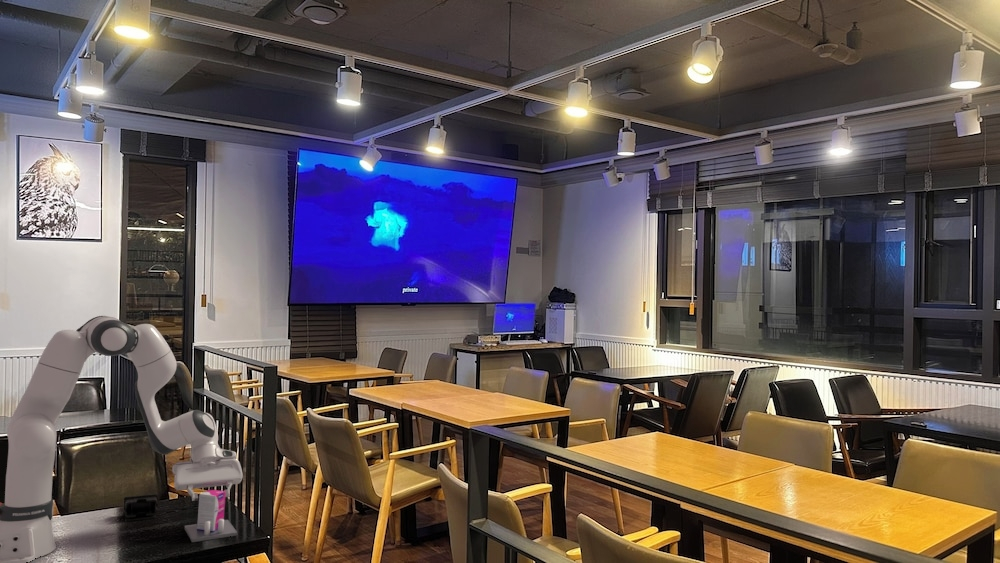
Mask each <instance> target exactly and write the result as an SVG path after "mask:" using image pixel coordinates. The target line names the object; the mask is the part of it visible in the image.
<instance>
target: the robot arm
mask: <svg viewBox="0 0 1000 563" xmlns="http://www.w3.org/2000/svg"><path fill="white" fill-rule="evenodd" d="M95 353H96V354H100V355H102V356H106V357H115V356H121V355H124V354H127V355H128V356H129V358H130V359H131V362H132V363H133V365H134V367H135V368H136V369H135V370H136V371H137V380H136V381H135V383H134V394H135V398H136V401H137V404H138V407H139V410H140V413H141V416H142V419H143V423H144V425H145V428H146V432H147V436H148V442H149V444H150V447H151V449H152V450H153V451H154V452H155V453H157V454H160V455H164V456H165V455H169V454H171V453H173V452H176V451H177V450H179V449H180V448H183V447H186V446H188V445H190V447H191V450H190V451H191V452H190V456H191V457H190V458H191V460H187V461H186V460H185V461H178V462H176V463H174V464H173V465H172V467H171V469H172V474H173V475H174V481H173V485H174V486H173V487H174V489H175V490H176V491H186V490H187V494H188V495H189V496H190V497H191V501H192V502H193V501H194V502H195V501H199V496H198V495H199V494H198V492H195V491H194V490H195V489H203V488H212V487H222V486H225V487H226V488H227V489H224V490H223V491H225V492H226V494H225V498H228V497H230V495H231V494H230V492H231V488H232V486H233V485H239V484H241V482H242V480H243V477H244V475H243V474H244V473H243V469H242V466H241V462H240V461H239V460H238V459H237V453H236V451H234V450H228V449H223V448H221V447H220V445H219V434H218V428H217V425H216V422H215V418H214V417H213V415H212V414H210V413H208V412H204V411H202V410H199V409H195V410H191V411H188V412H186V413H183V414H180V415H179V416H176V417H174V418H171V419H168V420H166V421H165V420H162V418H161V415H160V413H159V409H158V406H157V404H156V403H157V402H156V400H155V396H156V393H158V391H160V390H161V389H162V388H163V387H164V386H166V384H168V382H170V380H172V379H173V377H174V375H175V373H176V371H177V367H178V365H177V364H178V363H177V360H176V357H175V355H174V353H173V351H172V349H171V348H170V345H169V344H168V343H167V341H166V340H165V337H164V336H163V335H162V333H161V332H160V330H158V329H157V328H156V326H155V325H153V324H150V323H140V324H137V325H135V326H133V327H132V326H130V325H128V324H127V323H125V322H123V321H121V320H120V319H118V318H116V317H114V316H113V317H112V316H107V315H99V316H98V315H97V316H96V317H93V318H91V319H89V320H88V321H86V322H85V323H84V324H82V326H79V328H77V329H76V330H74V329H62V330H59V331H57V332H55V334H54V335H53V336H52V337H51V338H50V340H49V341H48V343H47V345H46V346H45V348H44V350H43V351H42V354H41V355H40V358H39V359H38V362H37V365H36V367H35V368H34V370H33V373H32V376H31V378H30V380H29V382H28V385H27V387H26V388H25V389H26V390H25V391H24V393H23V395H22V396H21V398H20V401H19V402H18V405H17V406H16V408H15V410H14V412H13V414H12V416H11V417H10V418H11V419H9V420H10V421H9V423H8V424H7V427H6V435H7V439H8V452H7V463H6V464H7V465H6V466H7V467H6V474H5V489H4V490H5V491H4V494H5V495H4V503H2V502H0V563H26V562H28V563H30V561H31V562H33V561H34V560H36V559H38V558H41V557H43V556H46V555H49V554H51V553H52V552H53V551H55V550H56V548H57V545H56V542H55V539H54V538H55V537H54V533H53V524H52V523H53V522H52V520H53V517H54V504H55V503H54V500H53V498H52V497H53V496H52V494H53V474H54V472H53V471H54V465H55V459H56V450H57V449H56V448H57V437H58V436H57V434H58V432H57V429H56V424H57V422H58V420H59V418H60V415H61V414H62V412H63V410H64V408H65V406H66V405H67V403H68V402H69V401H70V399H71V397H72V394H73V392H74V389H75V388H76V384H77V382H78V380H79V377H80V375H81V373H82V371H83V367H84V365H85V363H86V362H87V359H89V357H91V356H92V355H94V354H95ZM193 489H194V490H193ZM40 556H41V557H40ZM35 558H36V559H35ZM32 560H33V561H32Z"/></svg>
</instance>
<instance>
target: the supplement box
mask: <svg viewBox="0 0 1000 563" xmlns="http://www.w3.org/2000/svg"><path fill="white" fill-rule="evenodd" d="M225 494H226V492H225V491H224V490H216V489H208V490H205V491H203V492H201V493H199V494H198V495H199V496H198V510H197V512H198V513H197V523H196V524H197V531H203V532H204V527H205V521H210V532H211V533H213V532H215V531H216V530H218V521H219V519H224V520H225V506H226V497H225Z"/></svg>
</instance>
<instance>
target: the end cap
mask: <svg viewBox="0 0 1000 563" xmlns="http://www.w3.org/2000/svg"><path fill="white" fill-rule="evenodd" d="M158 503H159V494H158V493H154V494H153V493H151V494H140V495H132V496H124V497H123V510H122V512H123V513H122V514H123V515H122V516H123V517H124V522H133V521H141V520H142V521H143V520H151V519H156V518H157V513H158V505H159V504H158Z"/></svg>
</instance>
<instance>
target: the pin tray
mask: <svg viewBox="0 0 1000 563" xmlns="http://www.w3.org/2000/svg"><path fill="white" fill-rule="evenodd" d="M184 531H185V532H186V534H187V536H188V538H189V539H190V541H191V543H196V542H197V543H198V542H204V541H211V540H215V539H223V538H229V537H230V536H231V537H236V536H238V531H237V530H236V529H235V527H234V526H233V525H232V523H231V521H230V520H229V519H225V518H224V519H219V521H218V530H216V531H215V532H213V533H211V532H210V521H205V527H204V532H203V531H197V523H195V524H187V525H184Z"/></svg>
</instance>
